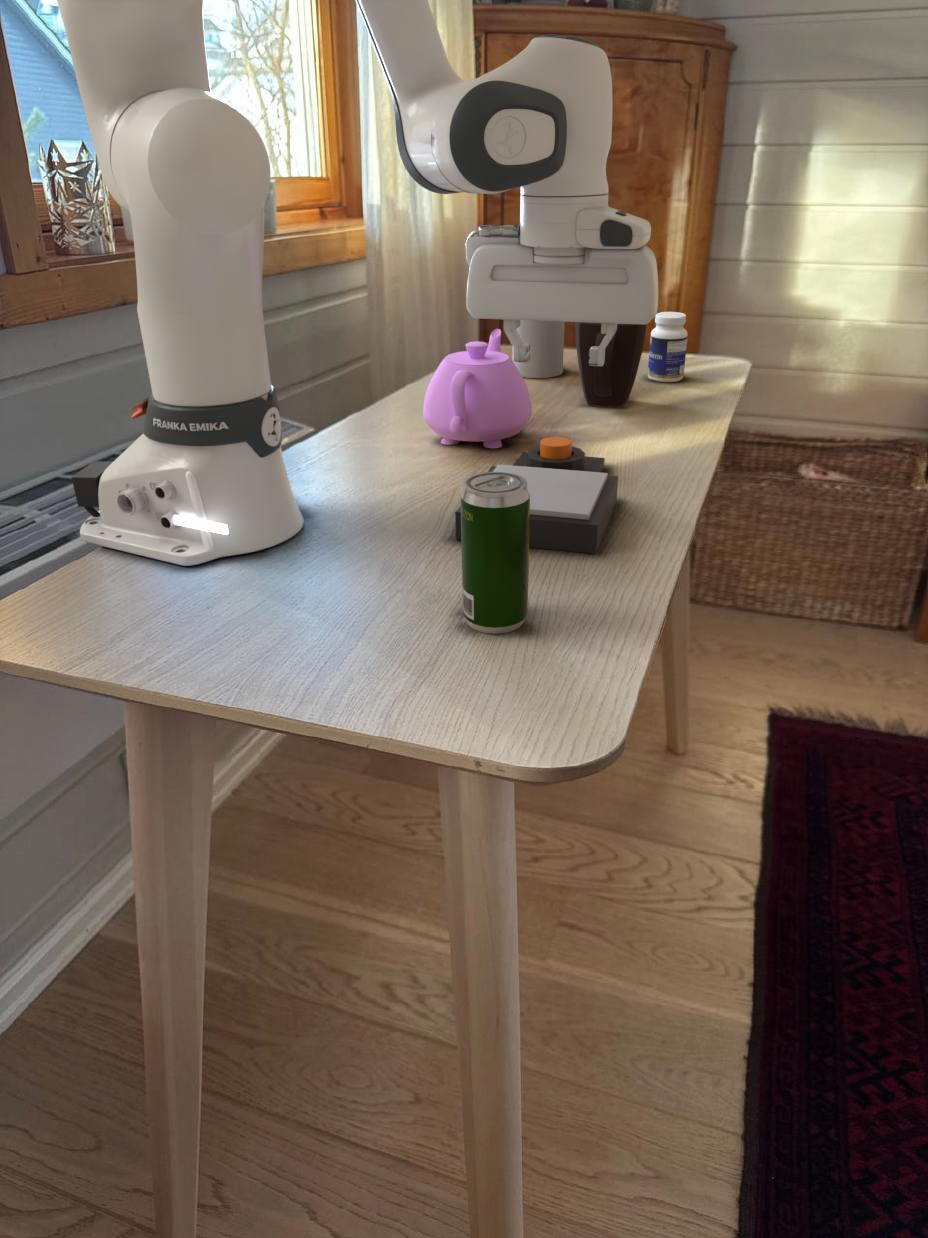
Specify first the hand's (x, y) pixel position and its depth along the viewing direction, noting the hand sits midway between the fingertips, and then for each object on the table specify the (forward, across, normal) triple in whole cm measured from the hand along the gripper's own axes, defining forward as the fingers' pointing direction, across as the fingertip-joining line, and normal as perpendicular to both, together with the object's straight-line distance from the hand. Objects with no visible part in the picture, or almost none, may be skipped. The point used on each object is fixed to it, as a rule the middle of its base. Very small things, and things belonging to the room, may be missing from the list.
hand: (558, 363), depth 98 cm
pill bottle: (+13, +8, +50) cm, 52 cm away
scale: (+13, +1, -13) cm, 19 cm away
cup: (+13, -13, +50) cm, 53 cm away
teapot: (+13, -13, +14) cm, 23 cm away
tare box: (+13, 0, 0) cm, 13 cm away
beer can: (+13, +2, -35) cm, 38 cm away
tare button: (+11, 0, 0) cm, 11 cm away
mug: (+13, +1, +32) cm, 35 cm away
